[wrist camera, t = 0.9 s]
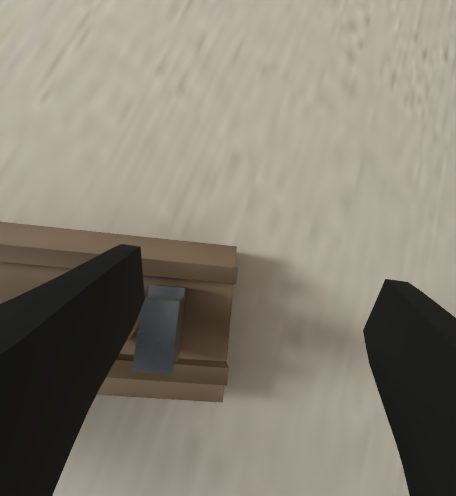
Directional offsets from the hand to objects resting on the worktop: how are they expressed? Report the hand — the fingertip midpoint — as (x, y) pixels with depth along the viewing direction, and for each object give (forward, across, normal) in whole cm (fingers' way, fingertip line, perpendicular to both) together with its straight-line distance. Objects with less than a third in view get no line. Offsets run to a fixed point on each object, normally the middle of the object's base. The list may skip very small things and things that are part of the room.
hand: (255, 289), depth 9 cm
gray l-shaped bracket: (+7, +5, +8) cm, 12 cm away
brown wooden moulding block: (+8, +10, +10) cm, 17 cm away
